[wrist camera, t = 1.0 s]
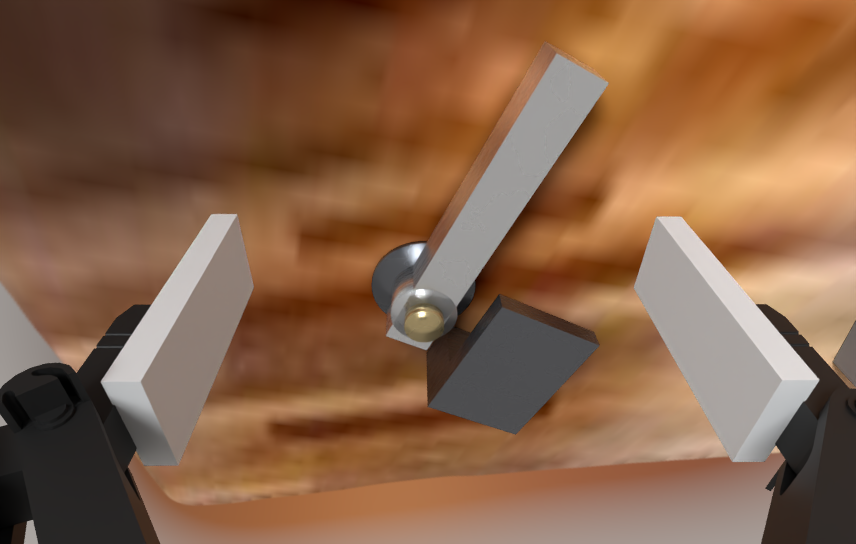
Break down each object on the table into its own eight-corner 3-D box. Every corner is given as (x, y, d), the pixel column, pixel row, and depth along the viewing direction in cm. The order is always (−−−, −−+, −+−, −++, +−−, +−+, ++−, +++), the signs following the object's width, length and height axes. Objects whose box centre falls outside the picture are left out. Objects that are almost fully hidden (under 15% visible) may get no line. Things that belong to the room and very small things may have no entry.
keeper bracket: (345, 324, 42) (335, 377, 37) (401, 219, 36) (398, 266, 32) (505, 380, 46) (515, 434, 42) (578, 294, 41) (599, 345, 36)
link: (433, 326, 41) (434, 353, 39) (379, 307, 40) (376, 332, 38) (603, 74, 30) (619, 88, 28) (534, 35, 29) (545, 47, 26)
